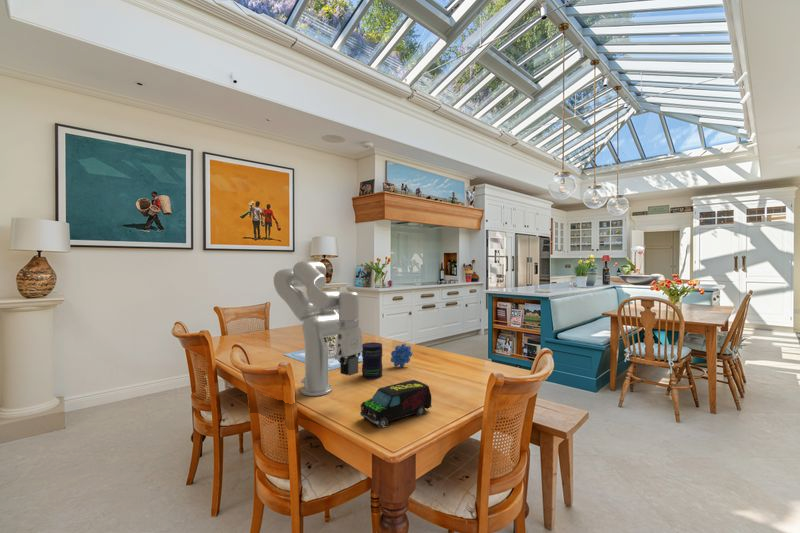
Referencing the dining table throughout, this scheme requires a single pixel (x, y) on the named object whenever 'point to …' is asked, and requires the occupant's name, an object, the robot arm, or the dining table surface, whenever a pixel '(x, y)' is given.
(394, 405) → the toy van
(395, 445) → the dining table surface
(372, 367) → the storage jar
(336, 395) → the dining table surface
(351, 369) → the grey block
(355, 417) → the dining table surface
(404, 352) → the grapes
